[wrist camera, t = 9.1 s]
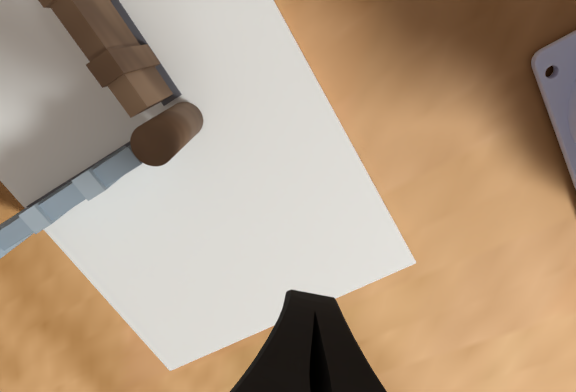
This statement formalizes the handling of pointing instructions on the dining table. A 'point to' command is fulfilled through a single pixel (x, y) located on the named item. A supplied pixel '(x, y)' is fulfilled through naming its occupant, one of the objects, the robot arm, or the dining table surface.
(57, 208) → the fence folding panel
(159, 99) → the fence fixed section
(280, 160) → the card
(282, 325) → the robot arm
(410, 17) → the dining table surface
